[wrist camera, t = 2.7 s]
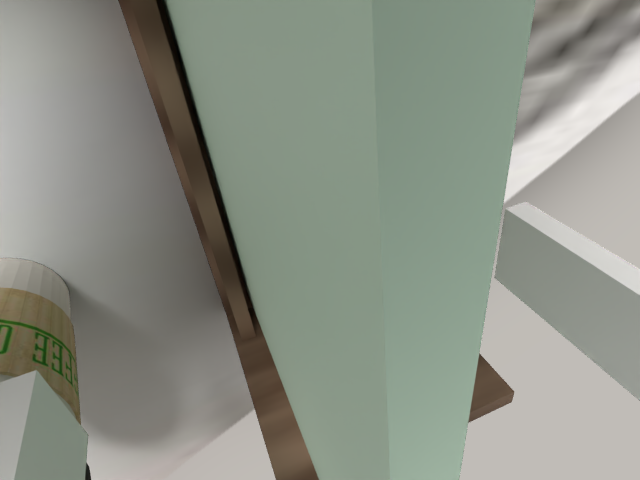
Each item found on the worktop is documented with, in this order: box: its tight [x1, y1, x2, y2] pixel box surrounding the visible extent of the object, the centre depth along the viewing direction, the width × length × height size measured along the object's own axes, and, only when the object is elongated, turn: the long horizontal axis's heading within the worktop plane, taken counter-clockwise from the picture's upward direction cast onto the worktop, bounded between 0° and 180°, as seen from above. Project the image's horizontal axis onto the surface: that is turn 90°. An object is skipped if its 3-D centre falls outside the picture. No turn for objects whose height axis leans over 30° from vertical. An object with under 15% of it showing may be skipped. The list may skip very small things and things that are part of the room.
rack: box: [118, 0, 514, 480], centre depth 21 cm, size 30×14×16 cm, turn 7°
